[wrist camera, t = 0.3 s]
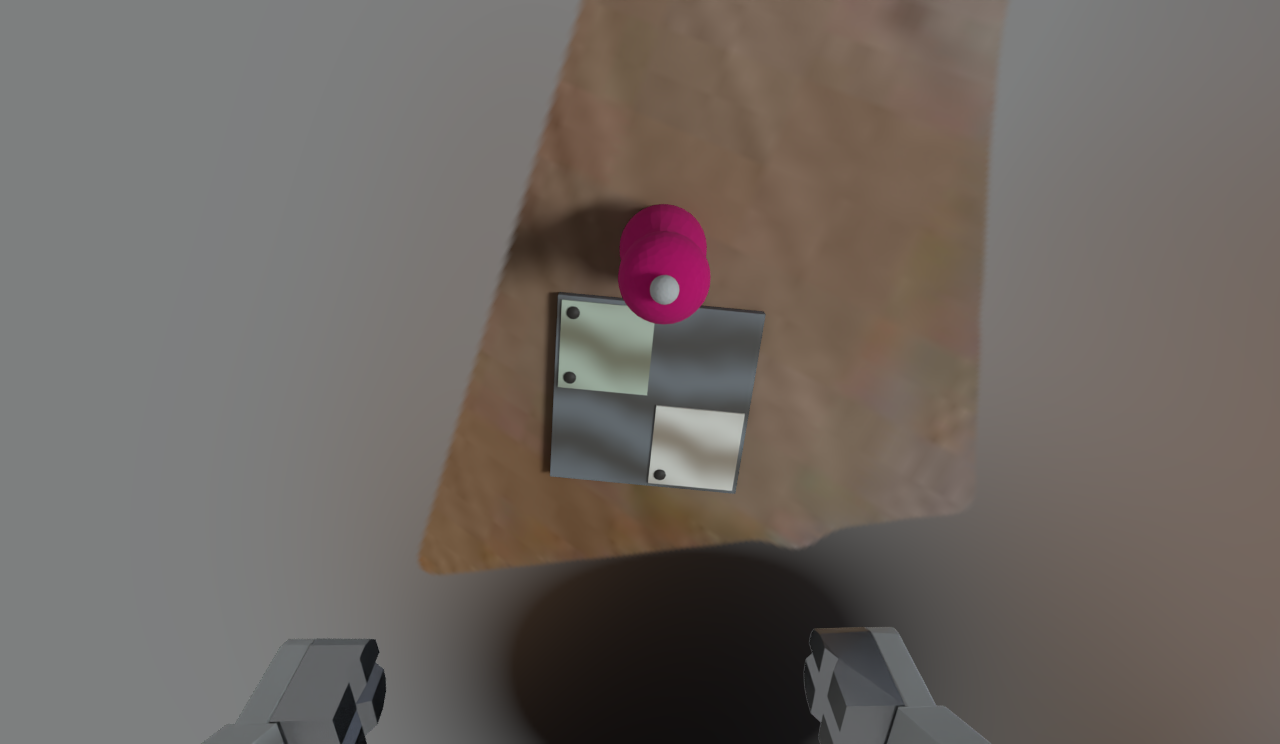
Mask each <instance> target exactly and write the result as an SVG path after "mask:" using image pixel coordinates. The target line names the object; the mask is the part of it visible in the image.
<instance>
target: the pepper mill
mask: <svg viewBox="0 0 1280 744" xmlns="http://www.w3.org/2000/svg"><path fill="white" fill-rule="evenodd" d="M619 248H620V258H621V263H620V267H619V273H618V283H619V289H620V292H621V295H622V298H623V300H624V301H625V303H626V305H627V306H628V307H629V308H630V310H631V311H632V312H633V313H635V314H636V315H637V316H638V317H640V318H642V319H643V320H646V321H648V322H651V323H655V324H663V325H664V324H674V323H677V322H681V321H683V320H685V319H687V318H688V317H690V316H691V315H692V314H693V313H695V312H696V311H697V310H698V309H699V308H700V306H701V305H702V303H703V302H704V300H705V298H706V296H707V294H708V291H709V287H710V268H709V264H708V261H707V259H706V248H707V246H706V238H705V235H704V231H703V229H702V228H701V226H700V224H699V222H698V221H697V220H696V219H695V218H694V217H693V216H692V215H691V214H690V213H689V212H687V211H685V210H684V209H682V208H679V207H677V206H674V205H668V204H659V205H653V206H650V207H647V208H645V209H643V210H641V211H639V212H638V213H637V214H635V215H634V216H633V217H632V218H631V219H630V220H629V222H628V223H627V225H626V226H625V228H624V230H623V232H622V236H621V239H620V246H619Z"/></svg>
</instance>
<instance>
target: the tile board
mask: <svg viewBox="0 0 1280 744" xmlns="http://www.w3.org/2000/svg"><path fill="white" fill-rule="evenodd" d="M765 315H766V314H765V313H764V312H762V311H752V310H741V309H731V308H721V307H710V306H700V308H699V309H698V310H697V311H696V312H695V313H693V314H692V315H691V316H690V317H688V318H687V319H685V320H683V321H681V322H677V323H674V324H664V325H663V324H655V323H651V322H648V321H646V320H643V319H642V318H640V317H638V316H637V315H636V314H635V313H633V312H632V311H631V310H630V308H629V307H628V306H627V305H626V303H625V301H624V300H623V298H616V297H606V296H595V295H585V294H574V293H564V292H559V294H558V307H557V330H556V353H555V376H554V399H553V422H552V445H551V467H550V476H553V477H564V478H574V479H585V480H596V481H606V482H617V483H628V484H638V485H649V486H659V487H670V488H681V489H691V490H702V491H713V492H723V493H734V494H735V492H736V486H737V480H738V474H739V468H740V462H741V456H742V450H743V444H744V438H745V433H746V427H747V421H748V415H749V409H750V403H751V397H752V391H753V385H754V380H755V374H756V368H757V362H758V356H759V350H760V344H761V338H762V332H763V326H764V321H765Z"/></svg>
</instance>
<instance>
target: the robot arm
mask: <svg viewBox="0 0 1280 744" xmlns="http://www.w3.org/2000/svg"><path fill="white" fill-rule="evenodd" d="M809 644H810V647H811V650H812V654H811V655H810V656H809V657H808V658H807V659H806V661H805V668H804V685H805V686H804V687H805V692H806V697H807V701H808V705H809V708H810V712H811V714H812V715H813V716H815V717H816V718H817V719H818V720H819V721H820V722H821V726H820V731H819V736H818V738H819V741H820V744H991V743H990V742H989V741H988V740H986V739H985V738H984V737H983V736H981V735H980V734H979V733H978V732H976V731H975V730H974V729H972V728H971V727H970V726H969V725H968V724H966V723H965V722H964V721H963V720H961V719H960V718H959V717H958V716H956V715H955V714H954V713H953V712H951V711H950V710H949V709H948V708H946V707H945V706H936V704H935V702H934V700H933V698H932V696H931V695H930V693H929V691H928V689H927V687H926V685H925V683H924V681H923V679H922V677H921V675H920V673H919V672H918V670H917V668H916V666H915V664H914V662H913V660H912V658H911V656H910V654H909V652H908V650H907V648H906V646H905V645H904V643H903V641H902V639H901V637H900V635H899V633H898V631H897V630H895V629H894V628H893V627H876V628H875V627H872V628H864V627H855V628H828V629H827V628H826V629H814V630H813V631H812V633H811V636H810V641H809ZM378 654H379V649H378V646H377V642H376V640H375V639H288V640H287V641H286V642H285V643H284V644H283V645H282V646H281V647H280V648H279V650H278V651H277V653H276V655H275V657H274V658H273V660H272V662H271V664H270V665H269V667H268V669H267V670H266V672H265V674H264V675H263V677H262V679H261V680H260V682H259V684H258V686H257V687H256V689H255V691H254V692H253V694H252V696H251V697H250V699H249V701H248V702H247V704H246V706H245V708H244V709H243V711H242V713H241V714H240V716H239V718H238V719H237V721H236V723H235V724H227V725H225V726H224V727H222V728H221V729H220V730H218V731H217V732H216V733H214V734H213V735H212V736H210V737H209V738H208V739H207V740H205V741H204V742H203V743H201V744H367V742H366V738H365V736H366V735H367V734H368V733H369V732H370V731H371V730H372V729H373V728H374V727H375V726H376V725H377V724H378V722H379V719H380V716H381V713H382V710H383V706H384V700H385V694H386V677H385V673H384V669H383V668H382V667H380V666H379V665H378V664H377V663H376V659H377V657H378Z"/></svg>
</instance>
